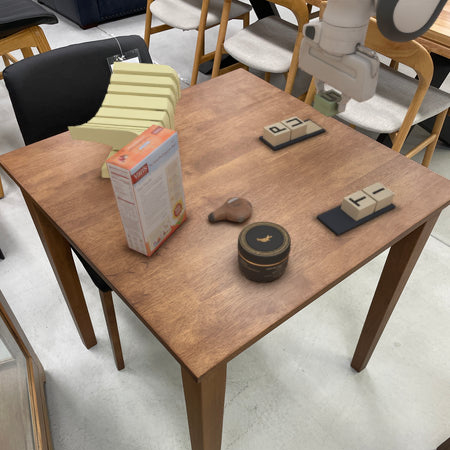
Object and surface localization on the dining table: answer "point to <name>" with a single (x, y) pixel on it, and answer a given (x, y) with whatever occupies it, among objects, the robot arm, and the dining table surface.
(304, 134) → the word back
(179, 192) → the cracker box
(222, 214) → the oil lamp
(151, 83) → the slatted curved stool
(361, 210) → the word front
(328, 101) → the s tile
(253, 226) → the jar
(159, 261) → the dining table surface
